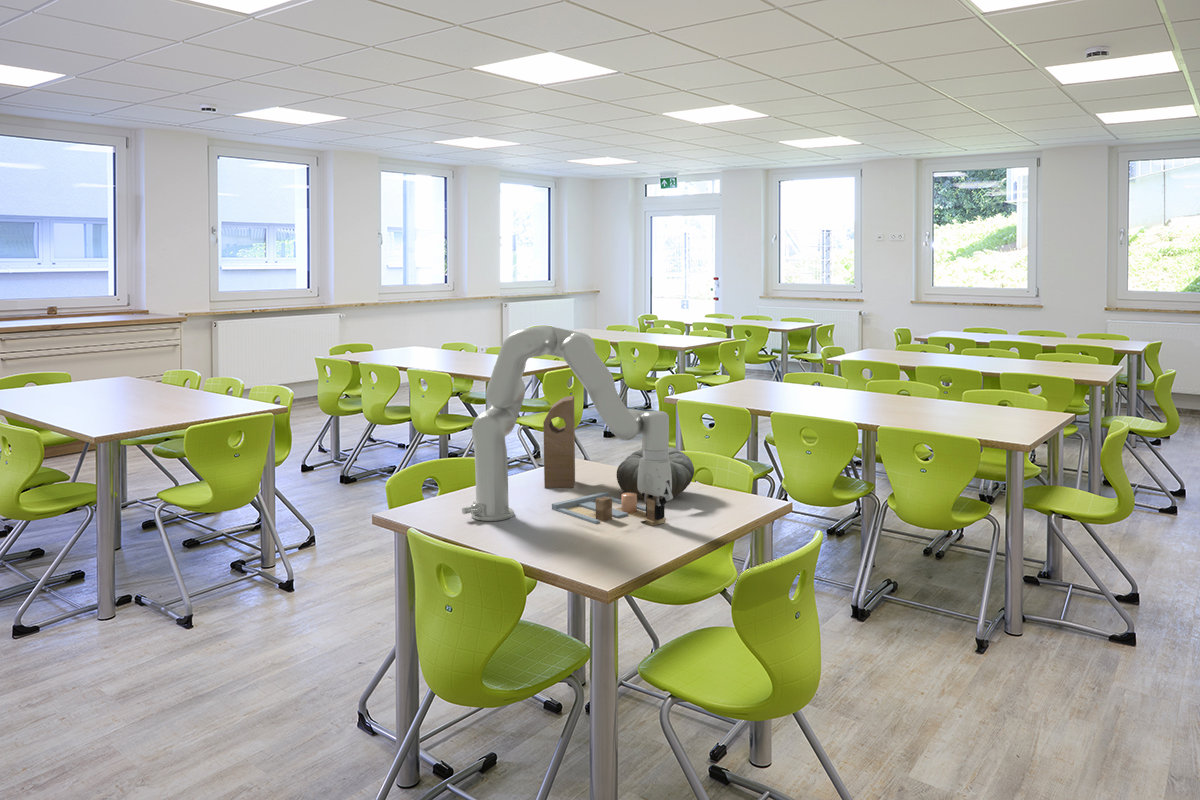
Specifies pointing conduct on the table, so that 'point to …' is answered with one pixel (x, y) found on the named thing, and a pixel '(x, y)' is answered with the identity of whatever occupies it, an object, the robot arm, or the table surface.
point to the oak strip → (643, 516)
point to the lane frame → (588, 507)
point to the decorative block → (560, 446)
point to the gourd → (679, 470)
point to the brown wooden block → (603, 509)
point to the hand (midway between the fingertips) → (655, 516)
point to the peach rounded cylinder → (629, 502)
